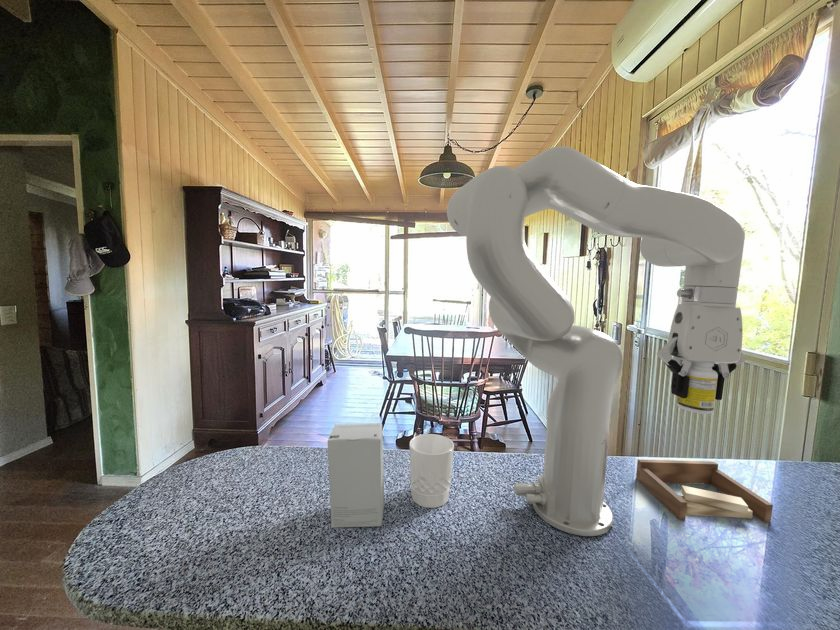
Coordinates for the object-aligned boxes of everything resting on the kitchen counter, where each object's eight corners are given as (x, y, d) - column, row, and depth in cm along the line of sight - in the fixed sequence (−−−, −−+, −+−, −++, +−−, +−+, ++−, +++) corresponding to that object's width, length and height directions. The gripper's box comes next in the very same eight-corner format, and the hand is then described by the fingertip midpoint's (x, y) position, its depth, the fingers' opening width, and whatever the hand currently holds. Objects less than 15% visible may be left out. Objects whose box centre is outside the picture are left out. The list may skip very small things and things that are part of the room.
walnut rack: (678, 522, 59) (681, 496, 58) (635, 480, 71) (637, 459, 70) (770, 524, 59) (773, 499, 58) (711, 483, 71) (714, 461, 70)
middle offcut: (687, 513, 60) (687, 506, 60) (676, 502, 63) (677, 495, 63) (751, 518, 59) (752, 511, 59) (738, 507, 62) (738, 500, 62)
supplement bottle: (679, 402, 69) (685, 352, 68) (715, 410, 65) (722, 357, 64) (673, 408, 65) (679, 355, 64) (710, 417, 61) (718, 361, 60)
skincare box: (384, 505, 61) (385, 422, 60) (381, 529, 55) (383, 438, 54) (335, 505, 61) (335, 421, 59) (327, 529, 55) (327, 437, 53)
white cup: (449, 514, 59) (451, 457, 58) (403, 506, 61) (404, 451, 60) (454, 487, 67) (456, 436, 66) (413, 481, 69) (414, 431, 68)
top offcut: (685, 500, 62) (685, 492, 62) (681, 492, 64) (681, 485, 64) (747, 513, 58) (748, 506, 58) (740, 504, 61) (741, 497, 61)
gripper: (674, 295, 59) (662, 401, 61) (777, 301, 59) (762, 406, 61) (646, 294, 67) (636, 388, 69) (738, 298, 67) (725, 392, 68)
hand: (695, 395), depth 65 cm, fingers closed on supplement bottle, 5 cm apart
